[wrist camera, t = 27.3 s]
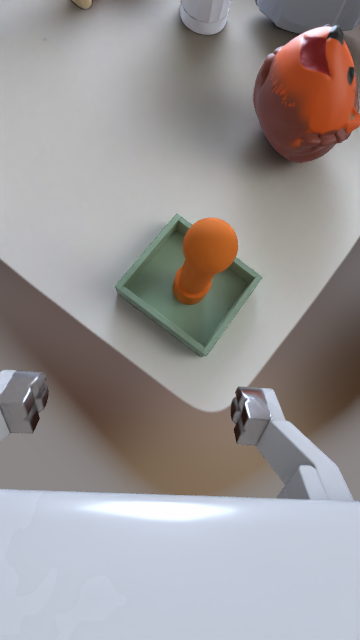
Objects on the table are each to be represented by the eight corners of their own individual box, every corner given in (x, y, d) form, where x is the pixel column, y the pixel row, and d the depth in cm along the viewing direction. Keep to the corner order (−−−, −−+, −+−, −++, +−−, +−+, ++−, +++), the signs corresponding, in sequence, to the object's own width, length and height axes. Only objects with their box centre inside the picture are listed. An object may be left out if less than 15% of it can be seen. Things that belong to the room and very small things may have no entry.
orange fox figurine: (225, 113, 34) (262, -10, 23) (294, 88, 36) (358, -38, 25) (273, 193, 33) (336, 105, 22) (341, 163, 35) (432, 67, 23)
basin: (117, 293, 29) (114, 286, 26) (174, 224, 31) (176, 212, 28) (201, 356, 29) (206, 356, 26) (253, 284, 31) (262, 277, 28)
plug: (178, 310, 29) (197, 269, 17) (167, 277, 29) (178, 213, 17) (211, 300, 29) (254, 253, 17) (200, 267, 30) (234, 200, 18)
